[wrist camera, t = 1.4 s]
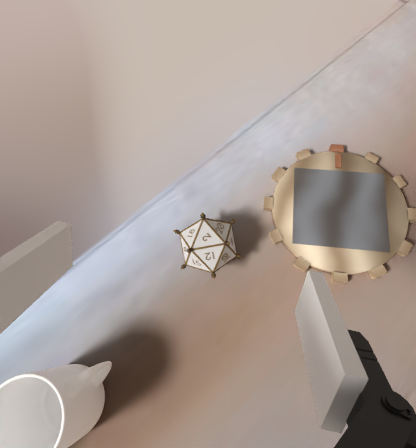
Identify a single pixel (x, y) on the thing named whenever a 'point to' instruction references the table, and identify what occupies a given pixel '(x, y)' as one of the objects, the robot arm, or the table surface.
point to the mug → (51, 406)
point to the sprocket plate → (340, 213)
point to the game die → (208, 244)
